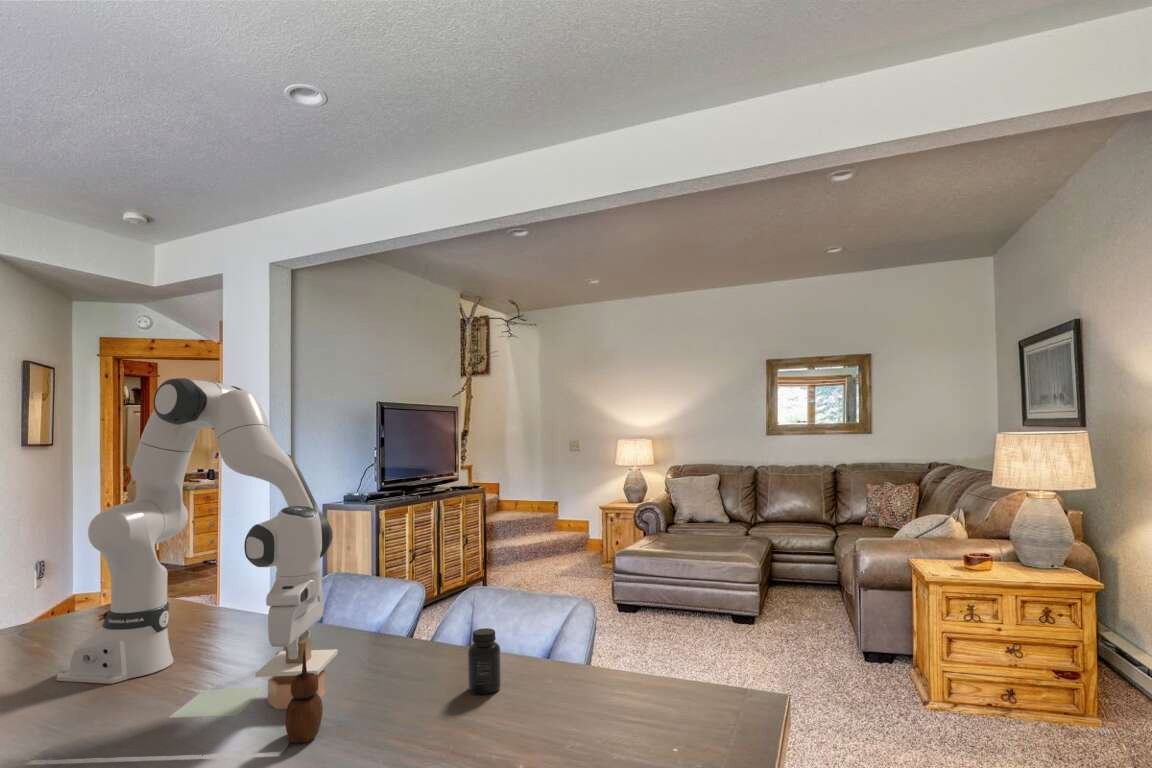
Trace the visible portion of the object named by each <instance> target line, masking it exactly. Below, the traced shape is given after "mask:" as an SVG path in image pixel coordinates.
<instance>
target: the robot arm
mask: <svg viewBox="0 0 1152 768" xmlns="http://www.w3.org/2000/svg"><path fill="white" fill-rule="evenodd" d="M153 396H154V397H153V411H152V412H151V414H150V416H149V418H148V420H147V422H146V424H145V426H144V429H143V432H142V434H141V436H140V439H139V443H138V445H137V449H136V452H135V455H134V458H133V461H132V463H131V468H130V475H131V478H132V479H133V480H134V481H135V484H136V486H135V487H136V495H135V497H134V500H133V501H131V502H127V503H121V504H117V505H114V506H111V507H109V508H107V509H105V510H103V511H102V512H100V513H99V512H98V514H97V515H95V516H94V517H93V518H92V520H91V521H90V523H89V526H88V529H87V530H88V531H87V536H88V539H89V543H90V544H91V545H92V547H93V548H94V549H96V550H97V551H98V552H100V553H101V554H102V555H103V557H104V559H105V560H104V561H106V565H107V568H108V571H109V577H110V609H109V610H107V611H105V612H104V613H103V614H100V615H98V616H97V617H98V619H97V622H100V621H102V620H103V623H102V624H101V627H100V628H99V629H97V630H95V632H93V633H92V634H91V635H90V636H88V637H87V638H85V639H84V640H83V641H82V642H80V643H79V644H77V646H76V647H75V648H74V650H73V653H72V655H71V658H70V662H69V663H70V664H69V666H67V667H65V668H63V669H62V670H61V671H60V672H58V673H57V676H56V681H59V682H74V683H75V682H76V683H90V684H91V683H93V684H94V683H95V684H110V685H111V684H115V683H119V682H122V681H125V680H130V679H132V678H138V677H142V676H146V675H151V674H154V673H156V672H159V671H162V670H164V669H167V668H168V667H169V666H171V665H172V664H173V663H174V658H173V655H172V654H173V653H172V650H171V647H170V641H169V640H170V639H169V632H168V630H169V629H168V627H169V620H170V604H169V602H168V575H169V574H168V569H167V568H166V567H165V566H164V565H163V564H161V563H160V561H159V559H158V556H157V554H156V553H157V552H156V548H155V547H156V545H157V544H159V543H163V542H167V541H169V540H170V539H172V538H173V537H175V536H177V535H178V534H180V533H181V532H182V531H183V530H184V529H185V528H186V526H187V523H188V520H189V512H188V509H187V507H186V506H185V504H184V501H183V500H184V499H183V498H184V497H183V496H184V495H183V490H184V480H185V476H186V472H187V469H188V466H189V463H190V459H191V455H192V452H193V450H194V447H195V442H196V439H197V435H198V434H199V432H200V431H202V430H203V429H207V428H208V429H210V428H211V429H212V430H213V431H214V434H215V439H216V443H217V446H218V447H217V448H218V451H219V454H220V456H221V459H222V461H223V462H224V464H225V465H226V466H227V467H228V468H229V469H230V470H232V471H234V472H235V473H238V474H240V475H242V476H243V475H244V476H246V477H247V476H248V477H252V478H256V479H260V480H263V481H264V482H268V483H270V484H272V485H274V486H275V487H277V489H279V491H280V492H281V494H282V496H283V497H284V500H285V502H286V504H287V507H284V508H282V509H281V510H279V512H278V513H277V515H276V516H274V517H272V518H271V519H268V520H265V521H263V522H259V523H257V524H254V525H253V526H252V527H251V528H250V529H249V530H248V532H247V533H246V536H245V539H244V544H243V545H244V547H243V548H244V554H245V558H246V559H247V560H248V561H249V562H250V564H252V565H253V566H255V567H257V568H271V567H276V572H275V581H274V582H273V586H272V587H271V589H270V591H269V592H268V593H267V594H266V600H265V604H266V607H269V609H268V615H267V629H268V631H267V632H268V633H267V634H268V642H269V644H270V646H271V647H272V648H273V647H274V648H281V647H283V648H284V647H285V646H287V649H288V658H289V659H297V658H298V657H299V656H300V648H298V641H299V638H310V636H311V632H312V626H313V625H315V624H316V623H317V622H319V621H320V619H322V618H323V615H324V611H325V606H324V605H325V603H324V592H323V591H324V590H323V589H324V588H323V581H322V580H323V578H322V577H323V575H322V574H323V573H322V572H323V567H322V564H321V558H322V557H324V555H325V554H326V553H327V552H328V550H329V548H330V546H331V544H332V541H333V538H334V537H333V536H334V535H333V530H332V529H333V528H332V526H331V524H330V523H329V521H328V520H327V518H326V517H325V515H324V514H323V512H322V511H321V510H320V508H319V505H318V504H317V502H316V500H315V498H314V496H313V494H312V492H311V489H310V487H309V485H308V483H307V482H306V479H305V477H304V475H303V474H302V472H301V469H300V467H299V465H298V464H297V462H296V460H295V459H294V458H293V457H292V455H290V454H289V453H288V452H286V451H285V450H284V449H283V448H282V447H281V446H280V445H279V444H278V442H277V441H276V439H275V438H274V436H273V434H272V433H273V432H272V431H271V428H270V424H269V422H268V419H267V417H266V414H265V412H264V410H263V407H261V403H260V402H259V401H258V399H257V397H256V396H255V395H254V394H253V393H251V392H250V391H248V390H244V389H242V388H240V387H237V386H233V385H227V384H224V383H221V382H216V381H210V380H206V381H205V380H199V379H198V380H197V379H189V378H186V377H185V378H184V377H178V378H177V377H176V378H171V379H167V380H164V381H163V382H162V383H161V384H160V385H159V386H158V387H157V390H156V391H155V393H154V395H153Z"/></svg>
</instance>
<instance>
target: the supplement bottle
mask: <svg viewBox="0 0 1152 768" xmlns="http://www.w3.org/2000/svg"><path fill="white" fill-rule="evenodd" d="M472 631H473V632H472V638H471V639H472V640H471V641H472V644H470V645H469V647H468V650H467V672H468V673H467V675H468V677H467V679H468V681H467V682H468V683H467V684H468V690H469V691H468V692H470V693H471V694H474V695H479V696H486V695H491V694H493V693H497V692H498V691H499V690H500V688H501V686H502V685H501V683H502V682H501V681H502V680H501V675H502V674H501V646H500V645H499V644H498V643H497V642H496V638H497V637H496V630H495V629H494V628H478V629H475V630H472Z"/></svg>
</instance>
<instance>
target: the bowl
mask: <svg viewBox="0 0 1152 768" xmlns="http://www.w3.org/2000/svg"><path fill="white" fill-rule="evenodd" d="M316 676H317V678H318V689H317V691H316V693H317V694H318V695H319V696H320V698H321V699H322V698H323V696H324V695H325V694H326V679H327V678H326V676H327V675H326V670H324V669H323V670H322V671H321V672H320V673H319V674H318V675H316ZM294 677H295V676H270V678H269V679H268V680H267V681H268V682H267V704H269V705H270V706H271V707H273V708H275V709H276V710H283V709H284V710H287V706H288V704H289V702H290V701H291V699H292V698H293V696H292V694H291V682H292V680H293V678H294Z"/></svg>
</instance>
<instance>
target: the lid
mask: <svg viewBox="0 0 1152 768" xmlns="http://www.w3.org/2000/svg"><path fill="white" fill-rule="evenodd" d="M298 648H300V656H299V657H298V658H297V659H289V658H288V649H287V646H286V651H281V650H280V651H281V652H280V653H279V654H277V655H276V654H275V655H276V656H274V657H273V658H272V659H270V660H269V661H268V662H266V663H265V664H264V665H263V666H262V667H261V668H260V669H259V670H257V671H256V672H255V678H258V677H259V678H264V677H266V678H268V677H273V676H297V675H299V674H301V673H302V665H303V652H304V650H305V657H306V669H307V673H308V672H309V673H314V674H315V675H318V674H319V673H320V672H321V671H322V670H324V669H325V667H327V665H328V664H329V663H331V662H332V660H333V659H334V658H335V657H336V656H337V655H338V653H339V650H338V649H334V648H333V649H312V637H309V638H299V641H298Z"/></svg>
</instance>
